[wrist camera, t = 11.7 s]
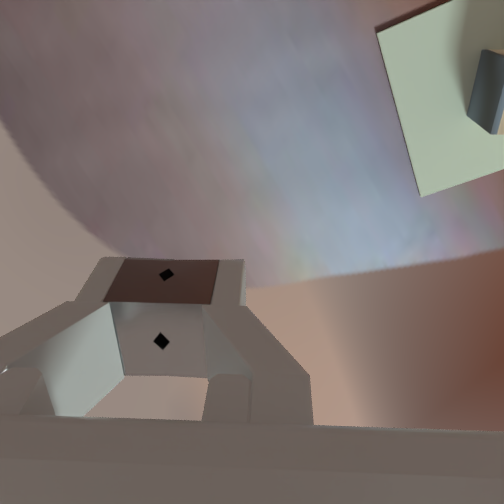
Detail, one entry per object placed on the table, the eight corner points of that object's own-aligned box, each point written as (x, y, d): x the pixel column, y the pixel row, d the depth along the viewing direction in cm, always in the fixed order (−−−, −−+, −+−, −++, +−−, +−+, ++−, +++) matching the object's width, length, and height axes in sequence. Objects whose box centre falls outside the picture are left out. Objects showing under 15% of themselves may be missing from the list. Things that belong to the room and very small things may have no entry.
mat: (376, 33, 39) (376, 33, 39) (584, -59, 35) (587, -59, 35) (420, 195, 46) (421, 197, 46) (596, 134, 42) (598, 136, 42)
